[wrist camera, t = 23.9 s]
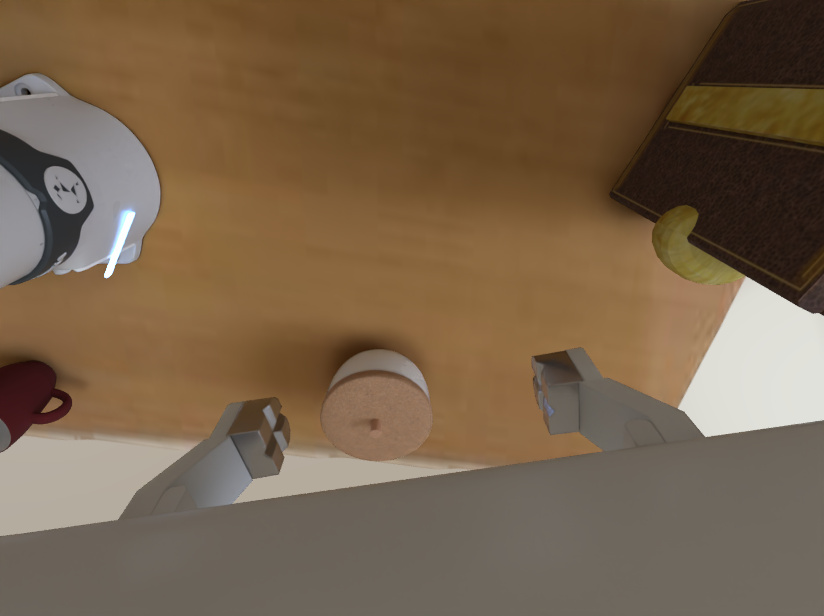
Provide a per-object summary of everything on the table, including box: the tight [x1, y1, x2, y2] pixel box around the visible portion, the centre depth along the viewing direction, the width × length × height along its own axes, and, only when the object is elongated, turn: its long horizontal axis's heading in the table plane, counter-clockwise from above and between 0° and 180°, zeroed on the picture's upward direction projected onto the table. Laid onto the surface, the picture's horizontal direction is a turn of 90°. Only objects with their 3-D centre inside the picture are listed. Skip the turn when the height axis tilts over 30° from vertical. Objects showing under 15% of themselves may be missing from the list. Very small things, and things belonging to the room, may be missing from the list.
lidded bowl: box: [320, 349, 433, 461], centre depth 52 cm, size 13×13×11 cm
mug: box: [0, 361, 72, 452], centre depth 51 cm, size 11×8×10 cm
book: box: [610, 0, 824, 316], centre depth 32 cm, size 22×8×25 cm, turn 156°
